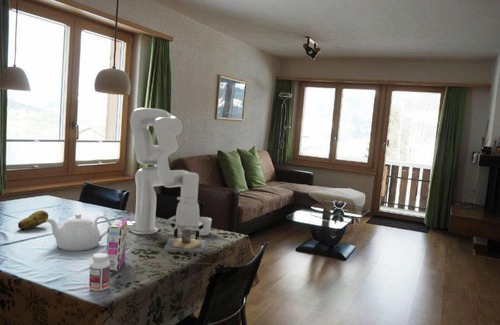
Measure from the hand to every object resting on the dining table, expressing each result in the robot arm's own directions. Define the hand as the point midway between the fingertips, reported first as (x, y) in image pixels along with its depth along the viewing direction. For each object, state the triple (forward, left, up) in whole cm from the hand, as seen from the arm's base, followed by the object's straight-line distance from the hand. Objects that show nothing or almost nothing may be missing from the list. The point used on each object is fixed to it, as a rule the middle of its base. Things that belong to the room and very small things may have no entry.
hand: (186, 238), depth 187 cm
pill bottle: (-23, -50, -4) cm, 55 cm away
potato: (-72, +11, -4) cm, 73 cm away
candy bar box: (-23, -30, -4) cm, 38 cm away
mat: (0, 0, -3) cm, 3 cm away
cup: (+6, +18, -4) cm, 19 cm away
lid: (0, 0, -3) cm, 3 cm away
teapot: (-44, -9, -4) cm, 45 cm away
